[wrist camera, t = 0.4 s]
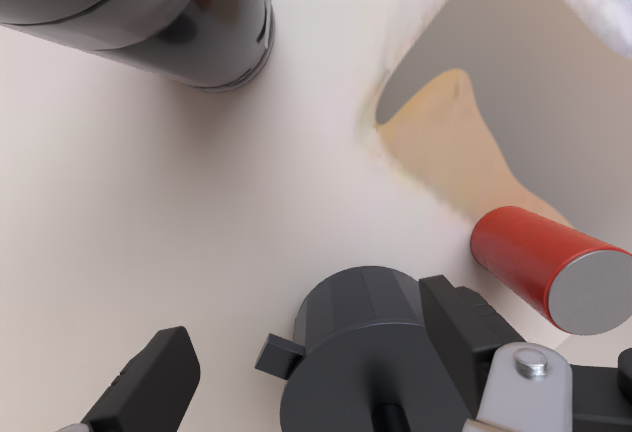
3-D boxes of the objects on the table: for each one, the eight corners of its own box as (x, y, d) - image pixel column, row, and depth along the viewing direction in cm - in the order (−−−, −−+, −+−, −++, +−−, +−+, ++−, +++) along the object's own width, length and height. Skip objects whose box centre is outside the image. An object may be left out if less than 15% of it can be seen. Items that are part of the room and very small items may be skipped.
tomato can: (465, 216, 28) (542, 263, 19) (535, 198, 28) (649, 236, 18) (475, 276, 30) (550, 347, 20) (541, 260, 29) (648, 324, 20)
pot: (306, 229, 28) (302, 276, 20) (490, 311, 31) (560, 385, 22) (247, 351, 32) (222, 436, 23) (417, 416, 34) (452, 515, 25)
